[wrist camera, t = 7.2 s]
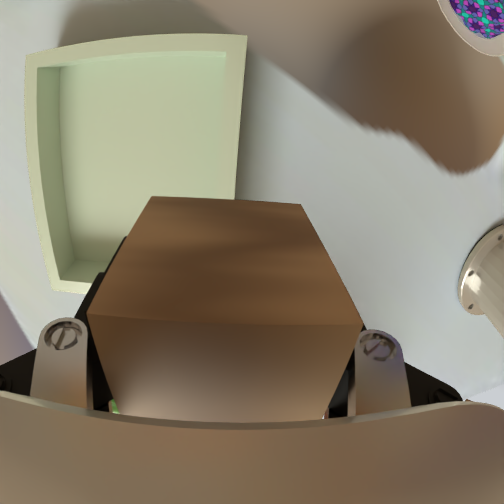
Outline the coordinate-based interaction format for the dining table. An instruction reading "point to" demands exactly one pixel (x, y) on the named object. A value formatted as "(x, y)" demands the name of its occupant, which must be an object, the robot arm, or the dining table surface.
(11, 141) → the dining table surface
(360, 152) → the dining table surface
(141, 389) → the walnut block
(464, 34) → the purple plaid hat
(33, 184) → the bin
